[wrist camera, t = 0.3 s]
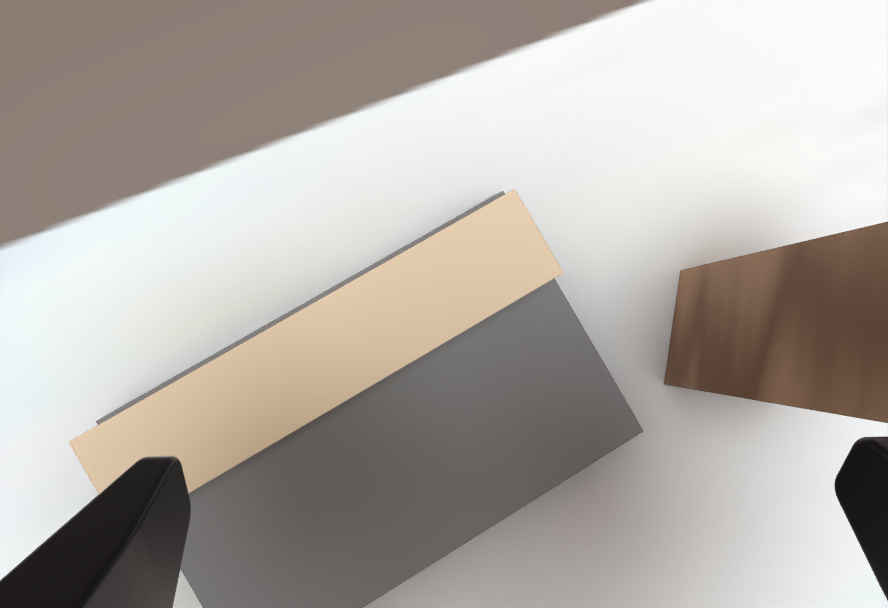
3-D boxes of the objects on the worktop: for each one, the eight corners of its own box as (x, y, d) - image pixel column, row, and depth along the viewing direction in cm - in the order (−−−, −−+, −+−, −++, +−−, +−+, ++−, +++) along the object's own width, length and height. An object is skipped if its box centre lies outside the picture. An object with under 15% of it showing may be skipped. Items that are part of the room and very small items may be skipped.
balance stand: (632, 427, 23) (683, 446, 19) (252, 664, 21) (219, 741, 17) (498, 197, 23) (520, 167, 19) (110, 417, 21) (43, 436, 17)
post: (773, 402, 23) (1253, 485, 10) (664, 384, 23) (1015, 445, 10) (788, 290, 23) (1272, 232, 11) (680, 270, 23) (1042, 185, 10)
